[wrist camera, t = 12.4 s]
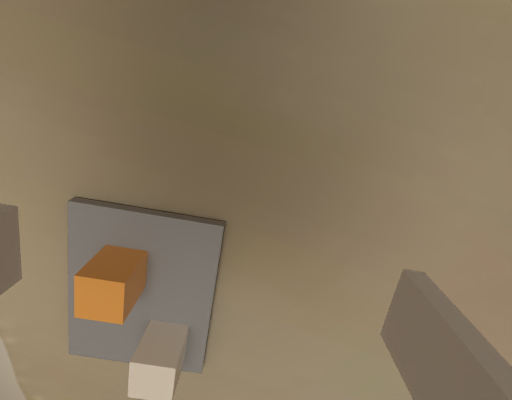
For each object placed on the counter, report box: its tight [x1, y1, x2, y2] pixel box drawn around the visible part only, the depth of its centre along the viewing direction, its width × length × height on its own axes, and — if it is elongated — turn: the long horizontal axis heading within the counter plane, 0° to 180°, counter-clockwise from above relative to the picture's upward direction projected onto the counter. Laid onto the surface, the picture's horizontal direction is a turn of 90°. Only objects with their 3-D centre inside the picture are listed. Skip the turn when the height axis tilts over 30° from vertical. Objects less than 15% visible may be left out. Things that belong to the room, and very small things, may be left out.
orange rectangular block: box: [74, 245, 148, 325], centre depth 36 cm, size 5×5×7 cm
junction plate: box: [68, 197, 225, 400], centre depth 38 cm, size 22×18×8 cm
